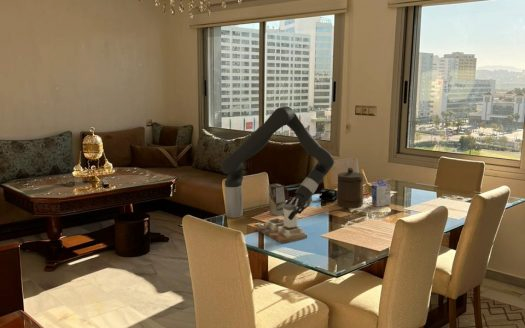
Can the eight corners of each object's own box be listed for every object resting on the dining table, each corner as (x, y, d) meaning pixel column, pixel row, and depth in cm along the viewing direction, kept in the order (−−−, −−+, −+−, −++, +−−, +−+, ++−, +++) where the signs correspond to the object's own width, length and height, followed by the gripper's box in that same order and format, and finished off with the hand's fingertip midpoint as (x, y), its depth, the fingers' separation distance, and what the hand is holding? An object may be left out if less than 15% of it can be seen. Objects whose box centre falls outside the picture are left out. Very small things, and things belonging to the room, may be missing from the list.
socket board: (256, 229, 243) (256, 221, 242) (279, 224, 250) (279, 216, 249) (282, 243, 223) (281, 234, 222) (306, 237, 230) (306, 228, 229)
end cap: (338, 200, 294) (338, 189, 293) (333, 202, 289) (333, 191, 287) (324, 197, 300) (324, 187, 299) (318, 200, 295) (318, 189, 293)
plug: (283, 225, 232) (283, 205, 230) (291, 223, 234) (291, 203, 232) (289, 227, 228) (288, 207, 226) (296, 225, 230) (296, 205, 229)
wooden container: (367, 203, 284) (368, 167, 280) (354, 209, 273) (354, 171, 269) (345, 199, 294) (346, 164, 290) (332, 205, 283) (332, 168, 279)
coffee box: (286, 214, 268) (286, 186, 265) (276, 216, 265) (275, 187, 262) (278, 210, 276) (278, 183, 273) (268, 212, 273) (268, 184, 270)
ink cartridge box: (385, 202, 286) (385, 178, 283) (390, 205, 281) (391, 180, 278) (371, 204, 282) (371, 180, 279) (376, 207, 277) (377, 182, 274)
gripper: (294, 181, 237) (273, 209, 234) (311, 187, 225) (290, 216, 222) (303, 190, 241) (283, 218, 237) (320, 196, 229) (299, 225, 225)
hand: (286, 217), depth 229 cm, fingers closed on plug, 4 cm apart
